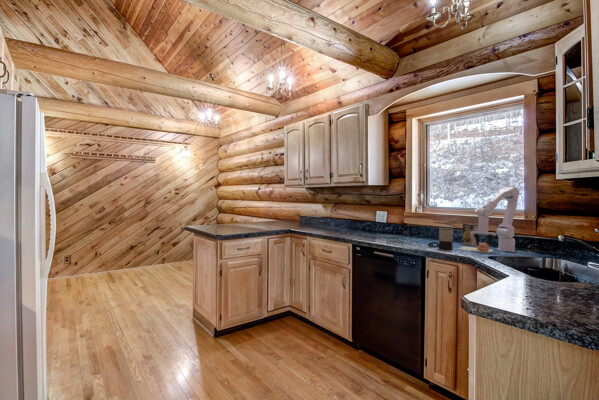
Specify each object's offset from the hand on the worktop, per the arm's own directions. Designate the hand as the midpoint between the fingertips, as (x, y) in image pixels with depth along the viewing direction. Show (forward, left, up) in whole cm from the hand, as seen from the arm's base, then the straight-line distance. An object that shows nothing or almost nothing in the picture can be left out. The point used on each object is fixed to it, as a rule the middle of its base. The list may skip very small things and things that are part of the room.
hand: (482, 245), depth 207 cm
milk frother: (+24, +11, -4) cm, 27 cm away
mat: (+5, -1, -4) cm, 6 cm away
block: (0, 0, -3) cm, 3 cm away
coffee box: (+13, -22, -4) cm, 26 cm away
